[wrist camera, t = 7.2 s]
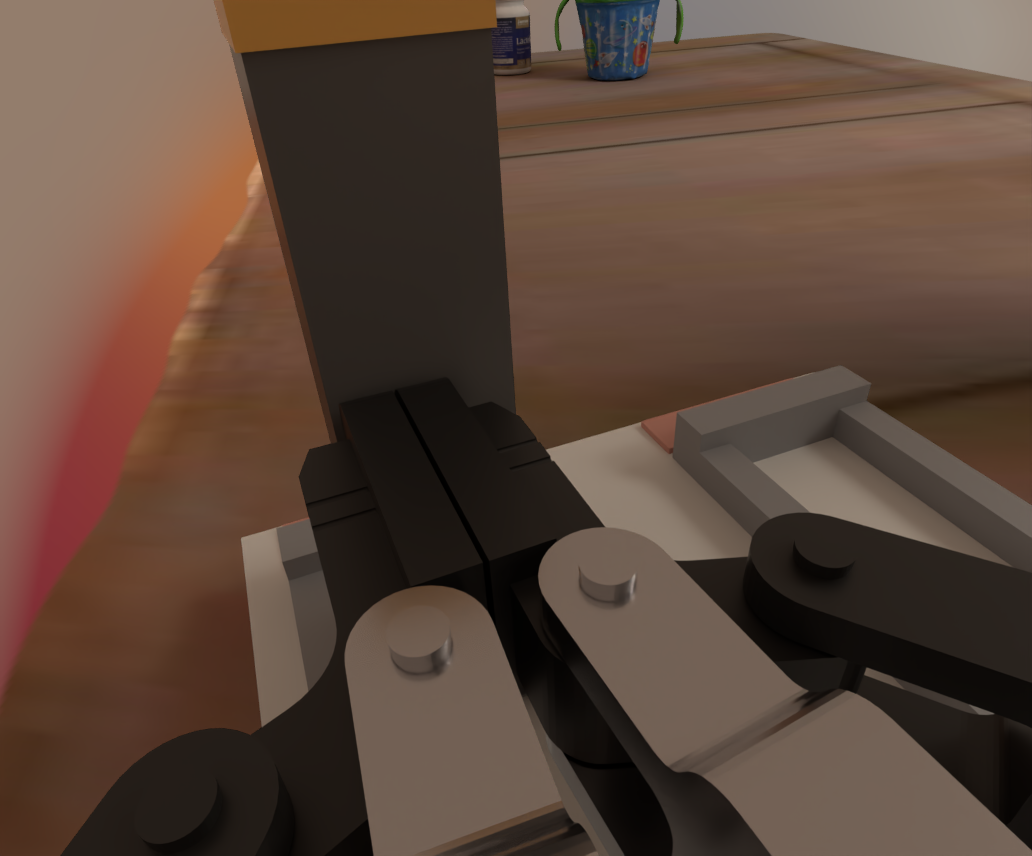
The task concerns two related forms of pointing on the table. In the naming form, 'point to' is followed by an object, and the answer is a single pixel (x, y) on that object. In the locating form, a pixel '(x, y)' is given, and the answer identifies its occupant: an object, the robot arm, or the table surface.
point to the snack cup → (618, 35)
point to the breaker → (383, 188)
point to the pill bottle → (511, 38)
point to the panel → (692, 511)
